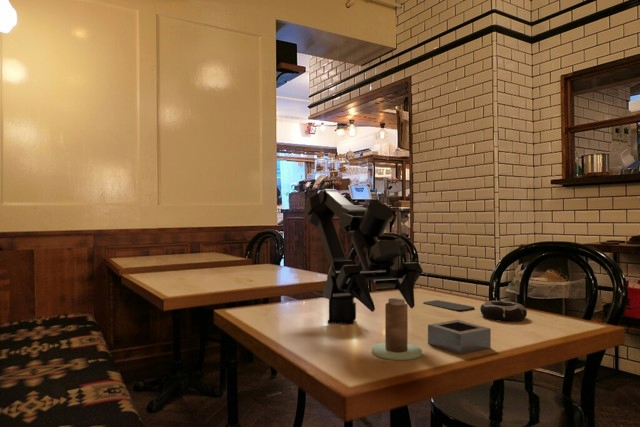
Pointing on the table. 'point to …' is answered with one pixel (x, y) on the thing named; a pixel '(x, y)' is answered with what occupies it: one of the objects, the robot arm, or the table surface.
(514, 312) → the donut
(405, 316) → the pepper mill
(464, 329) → the box
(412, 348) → the coaster
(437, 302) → the smartphone
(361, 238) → the robot arm
